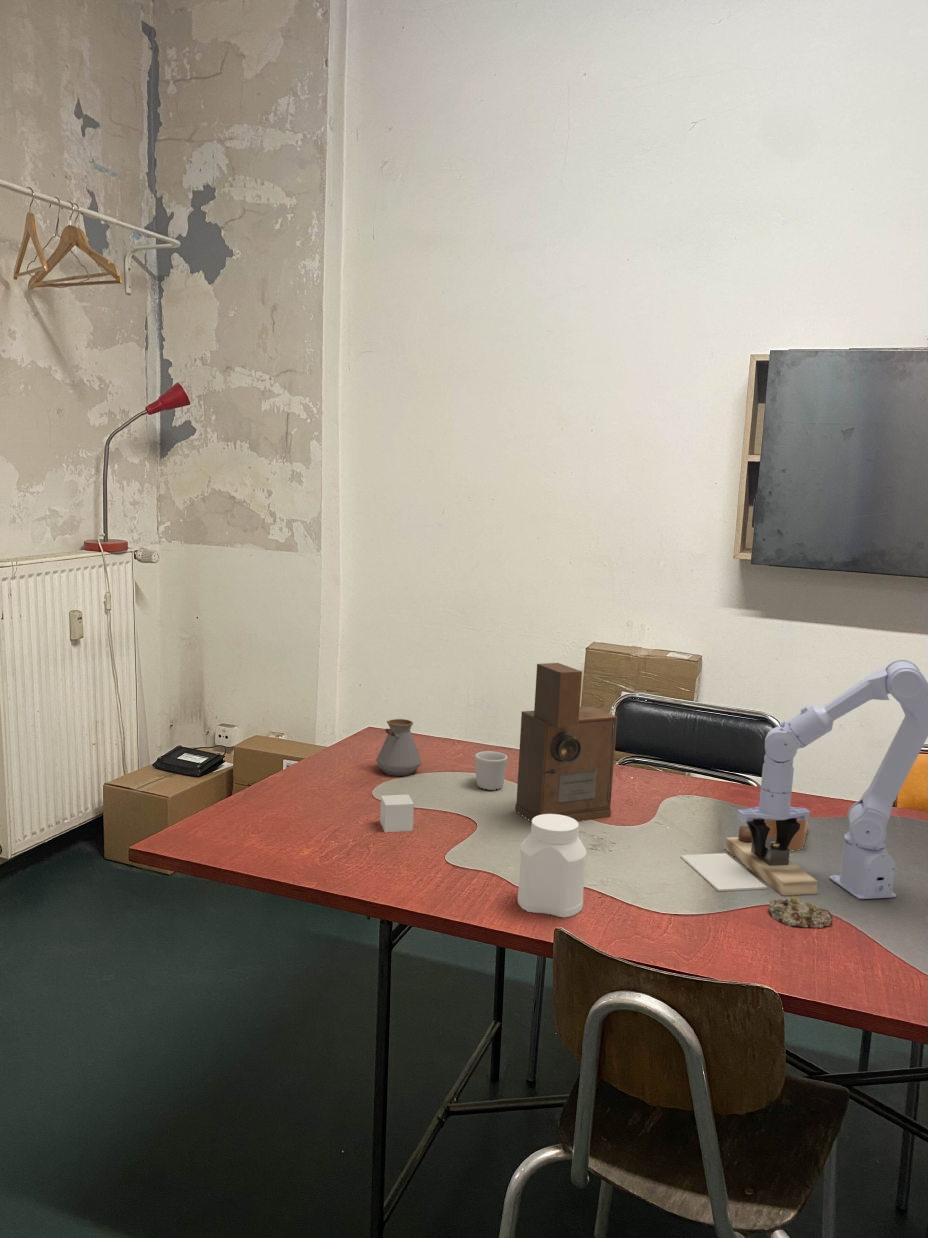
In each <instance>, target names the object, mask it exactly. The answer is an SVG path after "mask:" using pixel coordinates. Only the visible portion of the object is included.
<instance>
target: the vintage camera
mask: <svg viewBox="0 0 928 1238" xmlns="http://www.w3.org/2000/svg"><path fill="white" fill-rule="evenodd" d="M535 677H536V678H535V690H534V691H535V693H534V707H533V708H534V710H526V711H525V710H523V711H521V717H520V720H521V721H520V735H519V736H520V737H519V753H518V754H519V755H518V768H517V769H518V770H517V789H516V802H515V805H514V806H515V807H514V808H515V809H514V811H515V810H516V811H517V812H519V813H520V814H521V815H523V816H524V817H526V818H527V819H529V820H530V821H532V819H533V818H534V817H536V816H538V815H542V814H558V815H564V816H568V817H571V818H573V819H575V820H576V821H578V822H583V820H584V821H585V822H586V821H591V820H598V819H604V818H605V819H606V818H611V817H612V809H611V807H612V806H611V804H612V793H613V792H612V791H613V777H614V765H615V763H614V762H615V753H616V751H615V750H616V735H617V723H618V716H617V715H614V714H611V713H609V712H606V711H604V710H602V709H599V708H597V707H594V706H592V705H591V706H590V705H589V706H581V695H582V694H581V693H582V680H583V679H582V678H583V671H582V670H579V669H576V668H574V667H571V666H568V665H565V664H562V663H560V662H545V663H536V675H535ZM517 812H516V813H517ZM520 814H519V815H520ZM521 815H520V816H521ZM523 816H522V817H523ZM524 817H523V818H524ZM527 819H526V820H527ZM530 821H529V822H530Z"/></svg>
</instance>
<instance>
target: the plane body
mask: <svg viewBox="0 0 928 1238" xmlns="http://www.w3.org/2000/svg"><path fill="white" fill-rule="evenodd" d="M724 845H725V846H724V849H726V850H725V851H727V852H728V853H729V852H730V853H731V856H733V857H734V856H735V857H734V858H735V859H737V860H738V861H739V862H740V863H741V864H743V865H744V866H745V867H747V868H748V869H749V870H750V871H751V872H753V873H754V874H755V875H756V876H758V877H759V878H760V879H762V880H763V881H764V882H765V883H766V884H767V885H769V886H770V887H772V888H773V889H774V890H775V891H777V893H779V894H780V895H781V896H784V897H785V896H800V895H802V896H803V895H816V894H817V893H818V882H819V881H818V880H817V879H815V877H813V876H812V875H810V874H809V873H807V872H806V871H805V870H803V869H802V868H801V867H799V866H798V865H797V864H795V863H793V862H792V860H790V859H789V863H788V865H778V866H769V865H768V864H767V863H765V862H764V861H763V860H761V859H760V858H759V857H757V856H756V855H755V854H754V853H752V852H751V847H752V835H751V832H750V829H749V827H748V825H747V826H746V825H742V826H739V829H738V836H736V837H725V843H724ZM730 853H729V854H730Z"/></svg>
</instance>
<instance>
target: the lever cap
mask: <svg viewBox="0 0 928 1238" xmlns="http://www.w3.org/2000/svg"><path fill="white" fill-rule="evenodd" d="M751 852H752V853H754V854H755V849H754V843H753V838H752V847H751ZM790 853H791V851H790V850H789V849H787V848H786V847H784V846H783V845H782V844H780V843H779V842H777V841H776V840H775V839H773V838H772V837H767V839H766V844H765V853H764V857H763V858H760V857H759V858H760V859H761V860H763V861H764V862H765V863H767V864H768V865H769V866H778V865H788V863H789V860H790ZM755 855H756V854H755ZM756 856H757V855H756ZM757 857H758V856H757Z"/></svg>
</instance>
